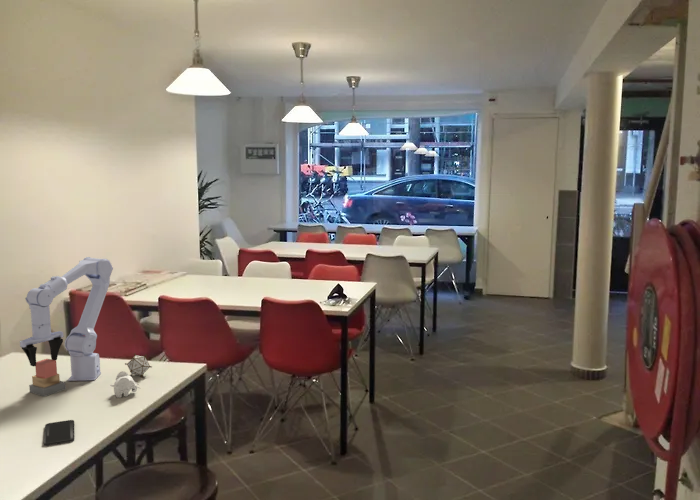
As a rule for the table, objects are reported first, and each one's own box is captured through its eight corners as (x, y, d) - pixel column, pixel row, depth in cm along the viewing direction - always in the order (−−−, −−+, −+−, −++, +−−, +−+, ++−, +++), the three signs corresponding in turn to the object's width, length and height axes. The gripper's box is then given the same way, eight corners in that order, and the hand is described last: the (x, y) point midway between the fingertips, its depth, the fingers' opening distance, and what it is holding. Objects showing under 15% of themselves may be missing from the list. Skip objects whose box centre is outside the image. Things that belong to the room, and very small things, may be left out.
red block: (47, 372, 216) (46, 358, 215) (57, 374, 214) (56, 360, 213) (36, 376, 212) (35, 362, 211) (45, 378, 210) (44, 364, 209)
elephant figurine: (141, 396, 209) (140, 375, 208) (110, 400, 205) (109, 379, 204) (139, 388, 216) (138, 369, 215) (110, 392, 212) (108, 372, 211)
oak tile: (48, 379, 218) (48, 371, 217) (59, 382, 215) (59, 374, 214) (32, 384, 213) (32, 376, 212) (43, 387, 210) (43, 379, 209)
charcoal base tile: (51, 386, 220) (50, 378, 219) (65, 390, 215) (65, 382, 215) (29, 393, 213) (29, 385, 212) (44, 398, 209) (43, 389, 208)
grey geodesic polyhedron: (144, 384, 231) (160, 362, 231) (130, 383, 223) (147, 361, 223) (130, 369, 234) (146, 348, 234) (115, 368, 226) (131, 346, 226)
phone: (74, 419, 188) (74, 439, 174) (74, 423, 188) (74, 442, 175) (44, 423, 185) (42, 444, 171) (45, 427, 185) (43, 447, 171)
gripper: (27, 330, 202) (30, 370, 204) (67, 320, 214) (70, 358, 216) (14, 327, 206) (18, 367, 208) (55, 318, 218) (58, 355, 220)
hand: (43, 362), depth 212 cm, fingers open, 7 cm apart
